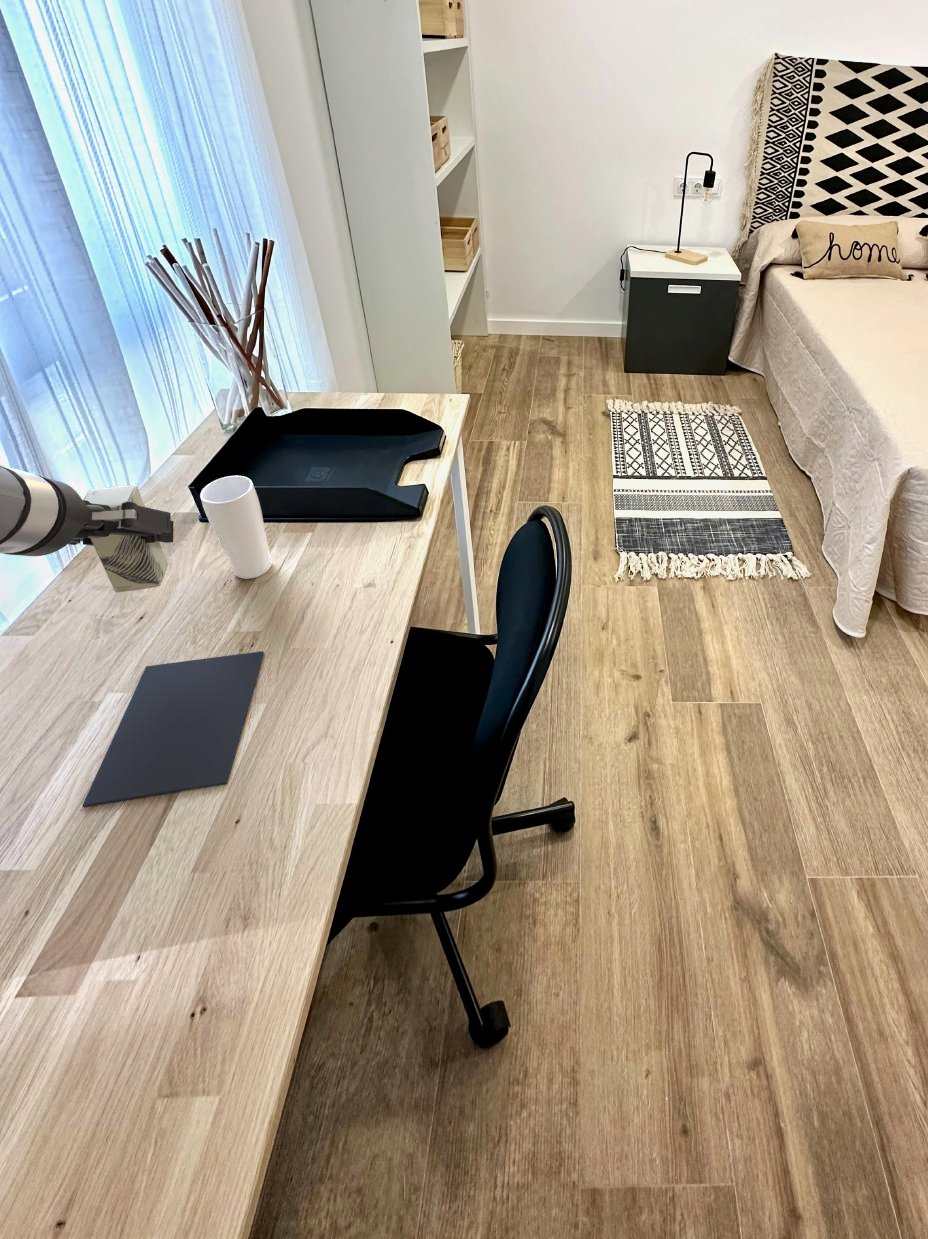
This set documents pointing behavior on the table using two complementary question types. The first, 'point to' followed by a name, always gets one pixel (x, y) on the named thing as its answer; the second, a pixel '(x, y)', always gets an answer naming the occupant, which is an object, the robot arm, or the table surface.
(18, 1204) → the table surface
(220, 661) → the dark blue mat
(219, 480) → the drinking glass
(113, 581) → the box
